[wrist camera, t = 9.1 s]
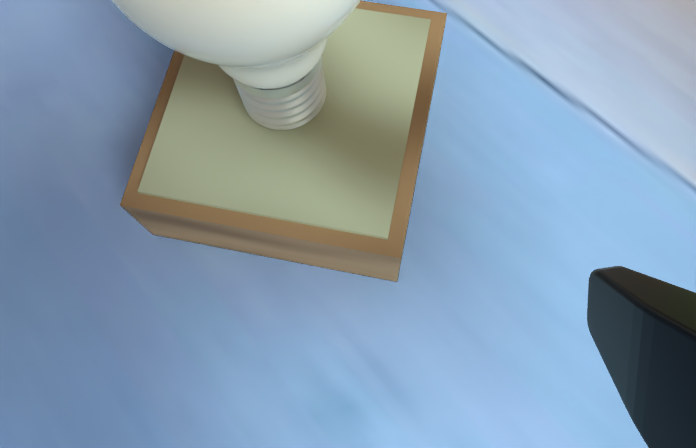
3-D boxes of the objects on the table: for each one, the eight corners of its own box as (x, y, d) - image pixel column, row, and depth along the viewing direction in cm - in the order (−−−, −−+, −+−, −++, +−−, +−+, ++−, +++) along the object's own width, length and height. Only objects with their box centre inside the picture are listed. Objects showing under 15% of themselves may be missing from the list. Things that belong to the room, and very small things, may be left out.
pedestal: (397, 281, 21) (401, 256, 18) (152, 234, 22) (117, 202, 19) (438, 63, 24) (447, 9, 21) (220, 29, 25) (198, -27, 22)
